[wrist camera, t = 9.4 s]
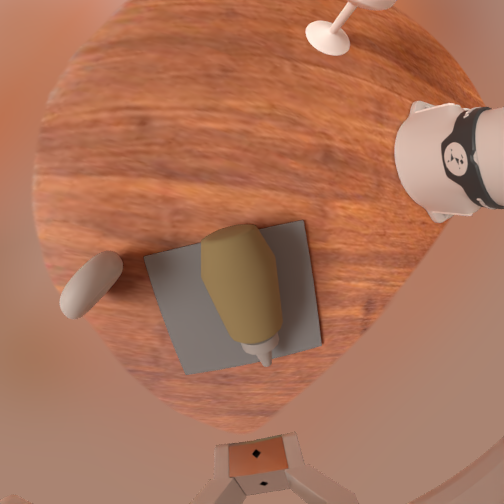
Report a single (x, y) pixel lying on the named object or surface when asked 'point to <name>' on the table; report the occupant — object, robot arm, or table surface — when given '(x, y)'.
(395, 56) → the table surface
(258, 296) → the squeeze bottle
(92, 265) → the donut
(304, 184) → the table surface
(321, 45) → the champagne flute
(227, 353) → the mat
